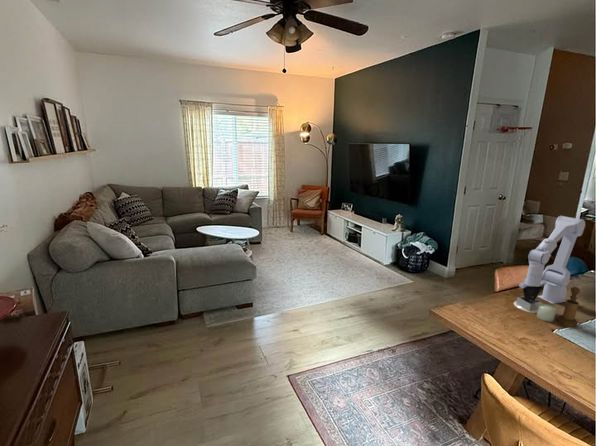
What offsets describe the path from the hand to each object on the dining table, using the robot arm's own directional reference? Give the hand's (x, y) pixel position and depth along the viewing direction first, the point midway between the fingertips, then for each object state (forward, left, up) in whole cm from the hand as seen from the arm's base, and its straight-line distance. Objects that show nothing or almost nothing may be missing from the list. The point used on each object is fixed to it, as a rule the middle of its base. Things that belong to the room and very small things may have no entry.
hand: (529, 299), depth 153 cm
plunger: (0, 0, -4) cm, 4 cm away
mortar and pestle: (-3, +16, -4) cm, 17 cm away
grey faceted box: (0, -1, -4) cm, 4 cm away
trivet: (0, 0, -4) cm, 4 cm away
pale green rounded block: (+2, +10, -4) cm, 11 cm away
